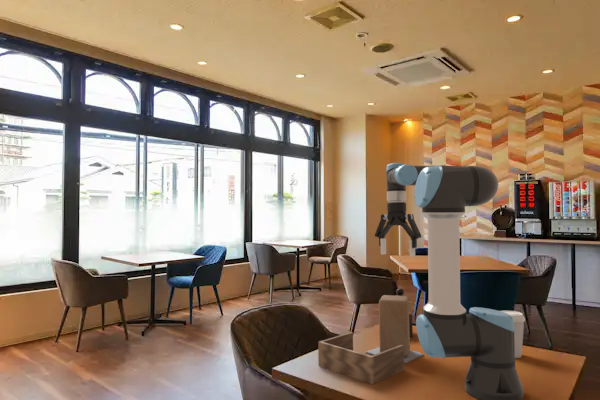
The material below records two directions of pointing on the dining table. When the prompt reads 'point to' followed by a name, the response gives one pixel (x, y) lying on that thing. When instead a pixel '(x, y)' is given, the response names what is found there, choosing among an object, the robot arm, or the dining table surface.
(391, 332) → the block
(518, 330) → the coffee cup
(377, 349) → the mat
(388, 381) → the dining table surface
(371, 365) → the bracket
